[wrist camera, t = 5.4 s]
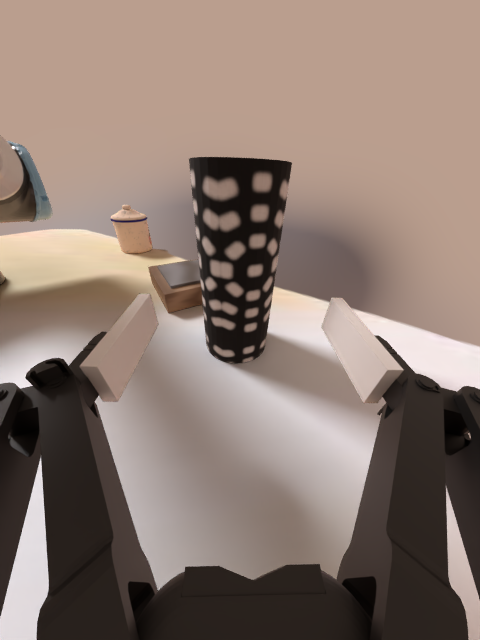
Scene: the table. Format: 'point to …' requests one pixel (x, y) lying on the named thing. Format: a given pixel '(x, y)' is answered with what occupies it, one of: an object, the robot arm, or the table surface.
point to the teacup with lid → (132, 230)
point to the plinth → (178, 284)
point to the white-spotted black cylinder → (238, 248)
